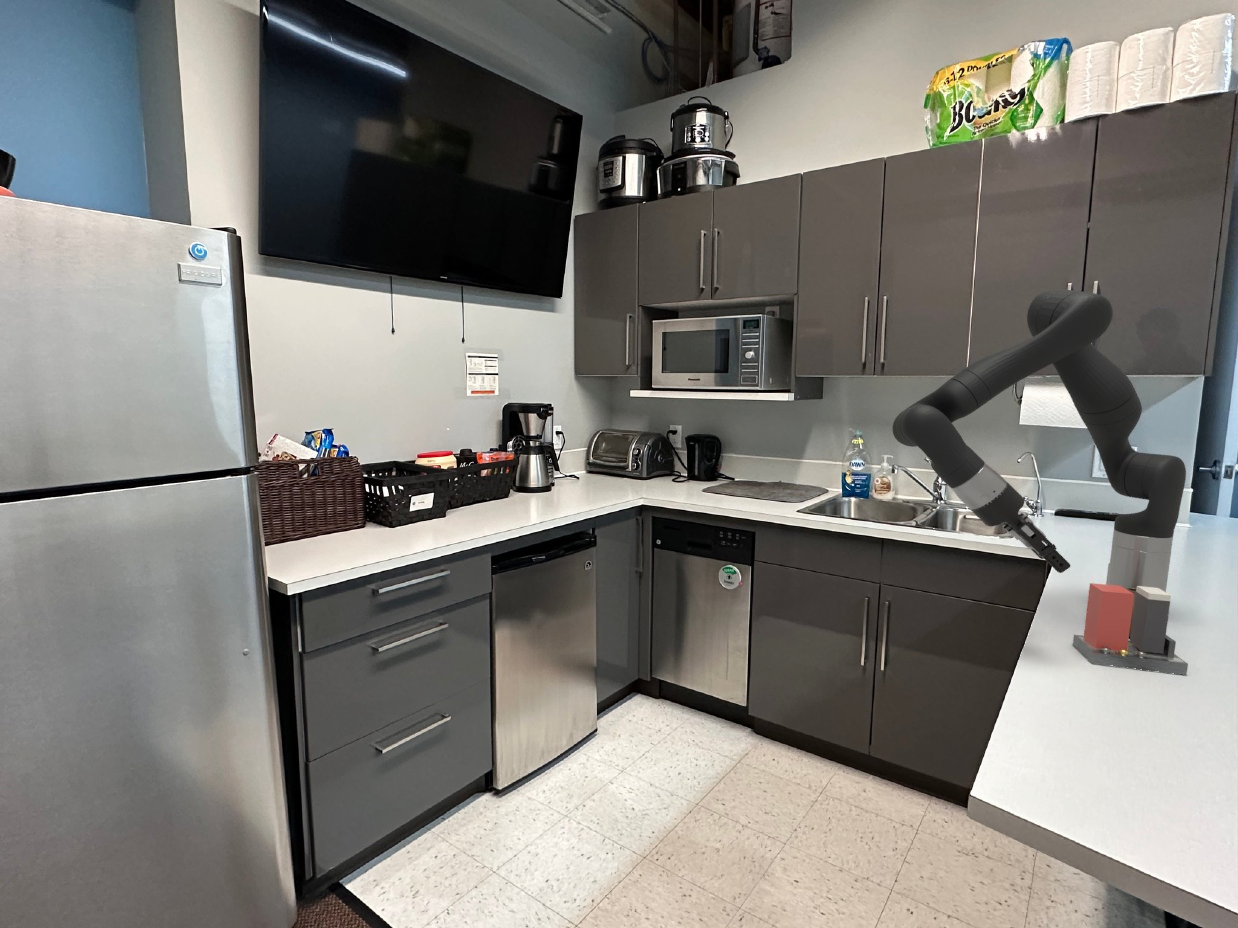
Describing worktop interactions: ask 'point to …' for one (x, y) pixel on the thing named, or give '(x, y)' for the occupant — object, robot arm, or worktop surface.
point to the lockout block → (1108, 616)
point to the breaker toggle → (1150, 619)
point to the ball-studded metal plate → (1133, 657)
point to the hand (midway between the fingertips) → (1055, 562)
